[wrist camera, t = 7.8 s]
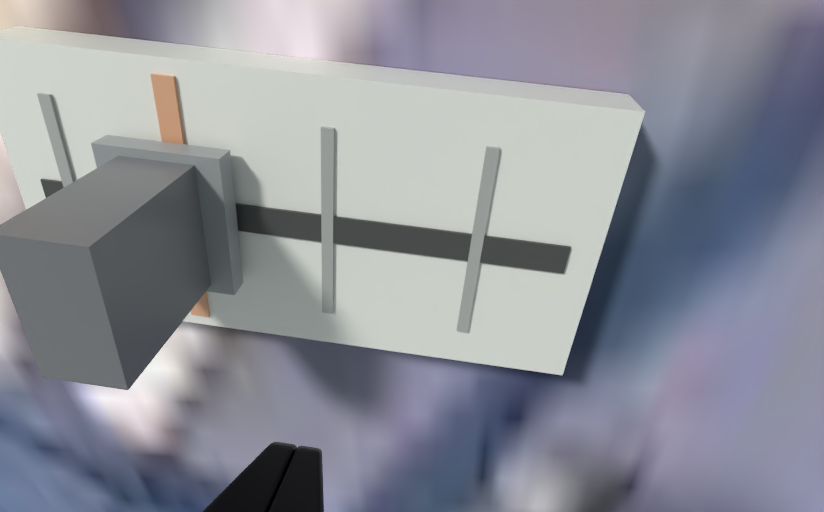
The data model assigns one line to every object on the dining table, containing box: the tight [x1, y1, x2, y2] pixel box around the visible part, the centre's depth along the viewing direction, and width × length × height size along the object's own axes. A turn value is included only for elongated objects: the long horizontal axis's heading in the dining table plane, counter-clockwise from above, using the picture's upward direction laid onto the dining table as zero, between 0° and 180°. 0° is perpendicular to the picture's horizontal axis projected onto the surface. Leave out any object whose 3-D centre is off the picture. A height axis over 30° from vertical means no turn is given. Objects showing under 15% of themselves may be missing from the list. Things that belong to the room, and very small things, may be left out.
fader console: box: [0, 26, 645, 375], centre depth 19 cm, size 20×10×2 cm, turn 85°
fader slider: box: [0, 135, 243, 390], centre depth 15 cm, size 4×5×6 cm
